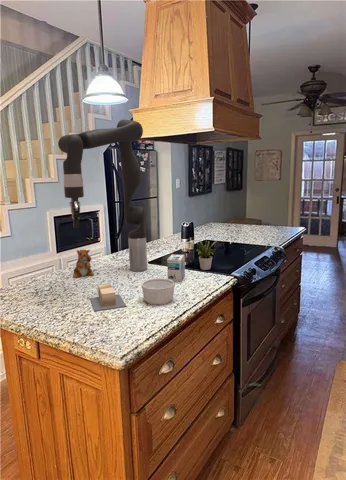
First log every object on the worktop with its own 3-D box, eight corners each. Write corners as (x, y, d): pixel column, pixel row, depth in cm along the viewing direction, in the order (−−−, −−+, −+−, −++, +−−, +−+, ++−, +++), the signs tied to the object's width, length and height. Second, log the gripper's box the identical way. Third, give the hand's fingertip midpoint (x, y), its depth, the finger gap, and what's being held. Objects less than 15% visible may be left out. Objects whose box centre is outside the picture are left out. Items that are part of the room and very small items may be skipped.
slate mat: (90, 298, 139) (90, 298, 139) (119, 294, 143) (119, 294, 143) (94, 311, 126) (94, 310, 126) (126, 306, 130) (126, 305, 130)
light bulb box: (181, 282, 158) (181, 259, 156) (167, 281, 159) (166, 259, 157) (185, 275, 168) (185, 254, 166) (171, 275, 170) (171, 254, 168)
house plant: (185, 270, 176) (185, 239, 173) (194, 264, 189) (194, 235, 186) (212, 273, 171) (212, 241, 168) (219, 266, 184) (219, 236, 181)
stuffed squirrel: (73, 278, 166) (71, 252, 164) (73, 271, 180) (71, 246, 177) (94, 276, 169) (92, 251, 167) (92, 269, 182) (91, 245, 180)
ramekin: (162, 308, 128) (162, 290, 127) (135, 302, 135) (134, 285, 133) (181, 297, 139) (180, 281, 138) (154, 292, 146) (154, 276, 144)
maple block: (97, 284, 140) (101, 294, 129) (110, 283, 141) (115, 292, 130) (98, 296, 141) (102, 306, 129) (110, 294, 142) (115, 304, 131)
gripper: (85, 185, 134) (87, 229, 137) (81, 185, 146) (83, 225, 150) (65, 186, 131) (68, 230, 135) (62, 185, 144) (65, 226, 147)
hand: (76, 227), depth 142 cm, fingers closed
